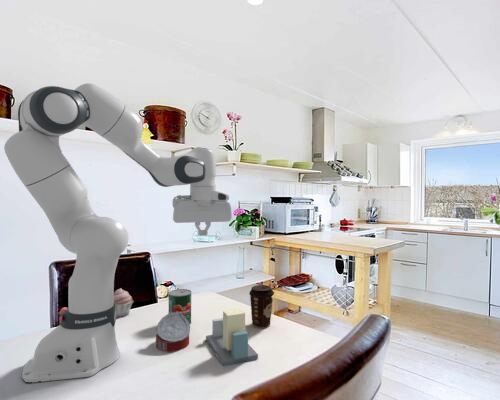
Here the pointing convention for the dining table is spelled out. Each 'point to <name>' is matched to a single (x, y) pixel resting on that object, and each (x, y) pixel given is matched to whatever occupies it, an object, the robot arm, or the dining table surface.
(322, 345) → the dining table surface
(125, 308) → the cupcake
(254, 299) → the coffee cup
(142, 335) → the dining table surface
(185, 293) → the canned tomato
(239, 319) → the sleeve
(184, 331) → the canned food
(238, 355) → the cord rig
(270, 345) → the dining table surface
